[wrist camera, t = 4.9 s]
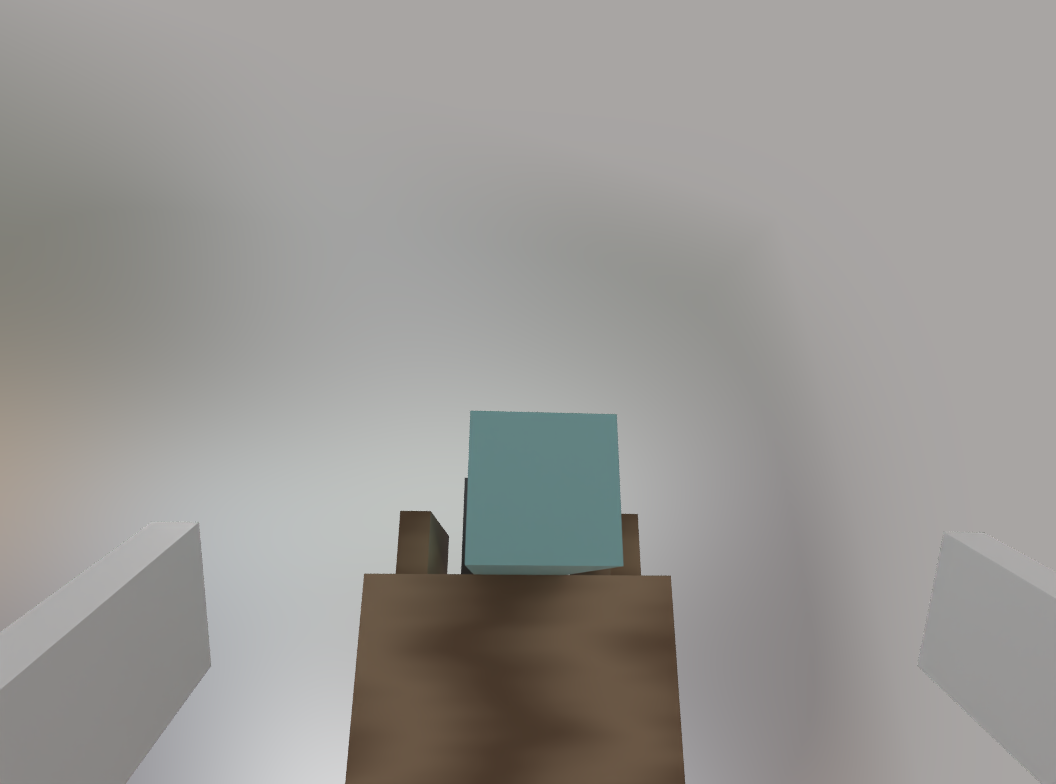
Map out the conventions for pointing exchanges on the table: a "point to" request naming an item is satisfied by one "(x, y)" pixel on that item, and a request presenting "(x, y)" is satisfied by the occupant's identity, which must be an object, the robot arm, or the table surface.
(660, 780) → the post
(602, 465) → the teal square rod
